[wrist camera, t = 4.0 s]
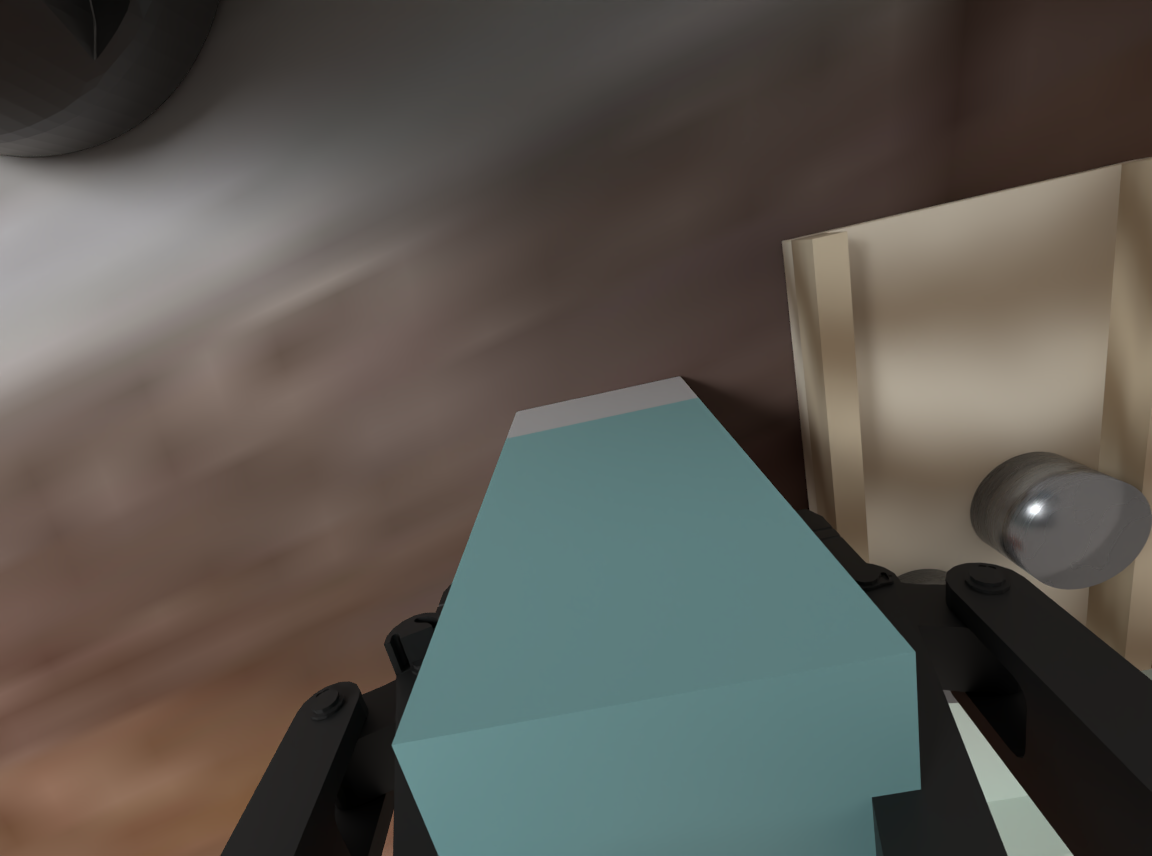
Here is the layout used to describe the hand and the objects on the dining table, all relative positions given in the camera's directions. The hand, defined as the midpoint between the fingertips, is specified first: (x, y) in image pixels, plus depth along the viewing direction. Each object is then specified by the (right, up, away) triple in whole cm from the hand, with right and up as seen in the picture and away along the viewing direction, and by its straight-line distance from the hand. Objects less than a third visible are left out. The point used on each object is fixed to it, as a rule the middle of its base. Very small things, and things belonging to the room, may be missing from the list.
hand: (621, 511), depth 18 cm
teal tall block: (0, +1, +3) cm, 3 cm away
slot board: (+13, +2, +3) cm, 13 cm away
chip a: (+15, 0, +2) cm, 15 cm away
